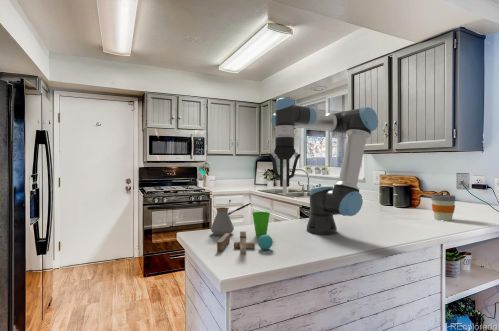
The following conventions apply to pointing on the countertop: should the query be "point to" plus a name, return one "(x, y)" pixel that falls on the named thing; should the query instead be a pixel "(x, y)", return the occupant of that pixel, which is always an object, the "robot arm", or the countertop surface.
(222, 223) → the coffee pot
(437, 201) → the reusable coffee cup
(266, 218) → the cup
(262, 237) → the ball
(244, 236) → the side pin
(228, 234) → the bar
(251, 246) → the front pin
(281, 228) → the countertop surface
